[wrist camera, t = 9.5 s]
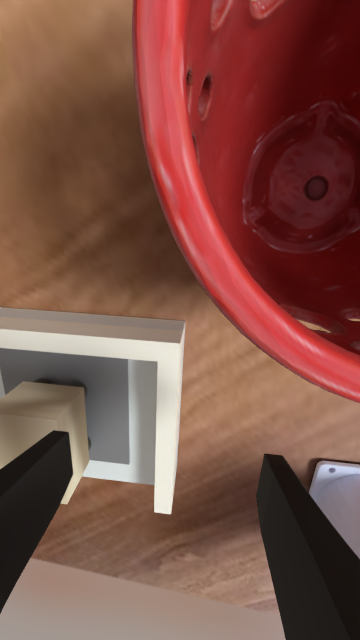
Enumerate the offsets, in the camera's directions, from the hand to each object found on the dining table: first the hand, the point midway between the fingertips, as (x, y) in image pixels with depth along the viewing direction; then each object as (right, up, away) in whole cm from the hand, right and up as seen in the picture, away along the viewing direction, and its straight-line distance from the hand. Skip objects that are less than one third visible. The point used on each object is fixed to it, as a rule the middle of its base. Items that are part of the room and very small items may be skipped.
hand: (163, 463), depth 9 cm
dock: (-7, 0, +11) cm, 13 cm away
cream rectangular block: (-7, -1, +9) cm, 12 cm away
